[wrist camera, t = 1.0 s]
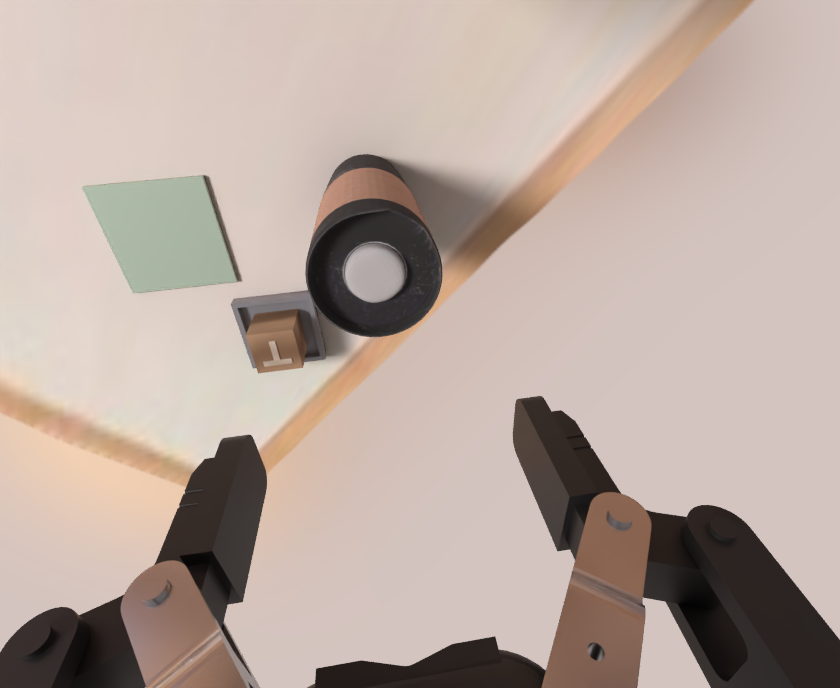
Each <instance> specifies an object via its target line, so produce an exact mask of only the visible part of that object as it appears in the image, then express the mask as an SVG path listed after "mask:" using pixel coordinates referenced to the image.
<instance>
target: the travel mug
mask: <svg viewBox="0 0 840 688" xmlns="http://www.w3.org/2000/svg"><path fill="white" fill-rule="evenodd" d="M306 283H307V287H308V291H309V294H310V296H311V299H312V301H313V302H314V304H315V306H316V307H317V309H318V310H319V311H320V313H321V314H322V315H323V316H324V317H325V318H326V319H327V320H328V321H330V322H331V323H332V324H334V325H335V326H337V327H338V328H340V329H342V330H344V331H346V332H349V333H352V334H355V335H360V336H366V337H383V336H389V335H393V334H397V333H399V332H402V331H404V330H406V329H408V328H410V327H412V326H413V325H415V324H416V323H418V322H419V321H420V320H421V319H422V318H423V317H424V316H425V315H426V314H427V313H428V312H429V310H430V309H431V308H432V306H433V305H434V303H435V301H436V299H437V297H438V294H439V291H440V288H441V283H442V264H441V258H440V255H439V252H438V249H437V246H436V244H435V242H434V240H433V238H432V235H431V233H430V231H429V229H428V227H427V224H426V222H425V220H424V218H423V216H422V213H421V211H420V209H419V207H418V205H417V202H416V200H415V198H414V196H413V194H412V192H411V191H410V189H409V188H408V186H407V185H406V183H405V182H404V180H403V179H402V177H401V176H400V174H399V173H398V171H397V170H396V169H395V168H394V167H393V166H392V165H391V164H390V163H389V162H387V161H386V160H384V159H382V158H380V157H377V156H374V155H366V154H364V155H357V156H353V157H351V158H349V159H347V160H345V161H344V162H343V163H341V164H340V165H339V166H338V168H337V169H336V170H335V172H334V173H333V175H332V177H331V179H330V181H329V184H328V186H327V188H326V190H325V193H324V195H323V197H322V200H321V203H320V207H319V211H318V215H317V219H316V223H315V227H314V232H313V236H312V240H311V244H310V248H309V252H308V256H307V261H306Z"/></svg>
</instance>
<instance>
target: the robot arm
mask: <svg viewBox="0 0 840 688" xmlns="http://www.w3.org/2000/svg"><path fill="white" fill-rule="evenodd" d="M513 443H514V448H515V451H516V454H517V457H518V458H519V461H520V463H521V466H522V468H523V471H524V473H525V475H526V478H527V480H528V483H529V485H530V487H531V490H532V492H533V494H534V497H535V499H536V501H537V504H538V506H539V509H540V511H541V513H542V516H543V518H544V520H545V522H546V525H547V527H548V529H549V532H550V534H551V536H552V539H553V541H554V544H555V546H556V549H557V551H562V550H568V549H570V550H571V552H572V554H573V556H574V559H575V563H574V567H573V571H572V575H571V579H570V582H569V586H568V590H567V594H566V598H565V601H564V605H563V608H562V612H561V616H560V620H559V623H558V627H557V631H556V635H555V639H554V642H553V646H552V650H551V653H550V658H549V661H548V665H547V669H546V670H544V669H543V668H542V667H540V666H539V665H538V664H536V663H534V662H533V661H531V660H529V659H527V658H525V657H523V656H521V655H518V654H515V653H512V652H509V651H504V650H498V646H497V642H496V638H495V637H490V638H484V639H479V640H473V641H468V642H462V643H456V644H452V645H450V646H448V647H446V648H444V649H442V650H440V651H438V652H436V653H434V654H432V655H431V656H429V657H427V658H425V659H423V660H421V661H419V662H417V663H415V664H413V665H411V666H398V665H391V664H390V665H389V664H383V663H375V662H368V661H356V662H351V663H345V664H340V665H334V666H328V667H323V668H318V669H316V680H315V684H313V685H311V686H310V687H308V688H637V685H638V676H639V667H640V658H641V650H642V642H643V633H644V624H645V606H644V605H643V604H642V599H643V597H644V598H649V599H655V600H661V601H666V603H667V605H668V607H669V609H670V611H671V613H672V615H673V617H674V618H675V620H676V622H677V624H678V626H679V628H680V630H681V632H682V634H683V635H684V637H685V639H686V641H687V643H688V645H689V647H690V649H691V651H692V653H693V654H694V656H695V658H696V660H697V662H698V664H699V666H700V668H701V670H702V671H703V673H704V675H705V677H706V679H707V681H708V683H709V685H710V687H711V688H840V640H839V639H838V637H837V636H836V635H835V633H834V632H833V631H832V630H831V628H829V626H828V625H827V623H826V622H825V621H824V620H823V618H822V617H821V616H820V615H819V614H818V612H817V611H816V610H815V608H814V607H813V606H812V605H811V603H810V602H809V601H808V600H807V598H806V597H805V596H804V595H803V593H802V592H801V591H800V590H799V588H798V587H797V586H796V585H795V583H794V582H793V581H792V580H791V578H790V577H789V576H788V575H787V573H786V572H785V571H784V569H783V568H782V567H781V566H780V564H779V563H778V562H777V561H776V560H775V558H774V557H773V556H772V554H771V553H770V552H769V551H768V549H767V548H766V547H765V546H764V544H763V543H762V542H761V541H760V539H759V538H758V537H757V536H756V534H755V533H754V532H753V531H752V530H751V528H750V527H749V526H748V525H747V524H746V523H745V522H744V521H743V520H742V519H741V518H739V517H738V516H736V515H735V514H733V513H731V512H730V511H727V510H725V509H722V508H720V507H716V506H710V505H701V506H697V507H695V508H693V509H692V510H691V511H690V512H689V514H688V516H687V517H683V516H676V515H668V514H662V513H655V512H650V511H648V510H645V509H644V508H643V507H642V506H641V505H640V504H639V503H638V502H636V501H635V500H634V499H632V498H630V497H628V496H626V495H623V494H621V492H620V491H619V490H618V488H617V487H616V485H615V483H614V482H613V481H612V479H611V477H610V476H609V474H608V472H607V471H606V469H605V468H604V466H603V465H602V463H601V461H600V460H599V458H598V457H597V455H596V453H595V452H594V450H593V449H591V446H590V444H589V442H588V441H587V439H586V438H585V437H584V435H583V433H582V431H581V430H580V428H579V427H578V425H577V423H576V422H575V421H574V420H573V419H571V418H570V417H569V416H568V415H566V414H565V413H564V412H563V411H553V412H551V410H550V408H549V407H548V405H547V403H546V401H545V400H544V398H543V397H542V396H537V397H530V398H522V399H517V400H516V404H515V415H514V427H513ZM266 488H267V476H266V470H265V467H264V464H263V462H262V459H261V457H260V454H259V452H258V449H257V447H256V444H255V442H254V439H253V437H252V436H251V435H244V436H236V437H229V438H223V439H222V440H221V442H220V444H219V447H218V450H217V452H216V455H215V458H209V459H204V461H203V462H202V463H201V464H200V465H199V466H198V468H197V469H196V470H195V471H194V472H193V473H192V475H191V477H190V480H189V482H188V484H187V487H186V489H185V494H184V495H183V497H182V499H181V502H180V504H179V505H180V507H179V508H178V509H177V512H176V514H175V517H174V519H173V521H172V524H171V527H170V529H169V531H168V534H167V536H166V539H165V541H164V544H163V546H162V549H161V551H160V554H159V556H158V559H157V561H156V563H155V565H154V566H152V567H150V568H148V569H147V570H145V571H144V572H143V573H141V574H140V575H139V576H138V577H137V578H136V579H135V580H134V581H133V582H132V583H131V585H130V586H129V587H128V589H127V591H126V592H125V594H124V595H122V596H121V597H119V598H117V599H114V600H112V601H110V602H108V603H105V604H103V605H101V606H99V607H97V608H94V609H92V610H90V611H88V612H86V613H83V614H81V615H78V614H77V613H76V612H75V611H73V610H72V609H70V608H67V607H59V608H54V609H50V610H48V611H45V612H43V613H41V614H39V615H37V616H36V617H34V618H33V619H31V620H30V621H28V622H27V623H26V624H24V625H23V626H22V627H21V628H20V629H19V630H18V631H17V632H16V633H15V634H14V635H13V636H12V637H11V638H10V639H9V641H8V642H7V643H6V644H5V646H4V648H3V649H2V651H1V652H0V688H145V687H146V688H260V687H259V685H258V683H257V681H256V680H255V678H254V676H253V674H252V672H251V670H250V669H249V667H248V665H247V663H246V661H245V659H244V658H243V656H242V654H241V652H240V650H239V648H238V646H237V645H236V643H235V641H234V639H233V637H232V635H231V634H230V632H229V630H228V628H227V626H226V624H225V623H224V617H225V613H226V609H227V605H228V604H233V603H239V602H243V598H244V593H245V588H246V583H247V579H248V574H249V569H250V564H251V560H252V555H253V550H254V546H255V541H256V536H257V531H258V527H259V522H260V517H261V512H262V507H263V503H264V498H265V494H266Z"/></svg>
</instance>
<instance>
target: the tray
mask: <svg viewBox="0 0 840 688" xmlns="http://www.w3.org/2000/svg"><path fill="white" fill-rule="evenodd" d="M231 306H232V309H233V312H234V315H235V318H236V321H237V323H238V326H239V329H240V332H241V335H242V338H243V341H244V344H245V346H246V349H247V352H248V355H249V358H250V361H251V364H252V367H253V368H256V365H255V362H254V359H253V356H252V353H251V350H250V348H249V345H248V342H247V339H246V333H247V331H248V329H249V326H250V324H251V322H252V319H253V317H254V315H255V314H257V313H265V312H274V311H283V310H291V309H298V310H299V314H300V318H301V322H302V326H303V330H304V333H305V337H306V341H307V348H306V354H305V359H304V362H307V361H315V360H323V359H326V351H325V346H324V342H323V337H322V333H321V328H320V324H319V319H318V315H317V311H316V306H315V304H314V302H313V301H312V299H311V296H310V294H309V291H300V292H291V293H283V294H274V295H265V296H256V297H247V298H238V299H234V300H233V301H232V303H231Z"/></svg>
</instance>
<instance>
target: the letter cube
mask: <svg viewBox="0 0 840 688" xmlns="http://www.w3.org/2000/svg"><path fill="white" fill-rule="evenodd" d="M246 339H247V342H248V345H249V348H250V350H251V353H252V356H253V359H254V362H255V365H256V368H257V371H258V373H264V372H272V371H280V370H288V369H296V368H303V365H304V359H305V354H306V348H307V341H306V337H305V333H304V330H303V326H302V322H301V318H300V314H299V310H298V309H291V310H283V311H274V312H265V313H257V314H255V315H254V317H253V319H252V322H251V324H250V326H249V329H248V331H247V333H246Z"/></svg>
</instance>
